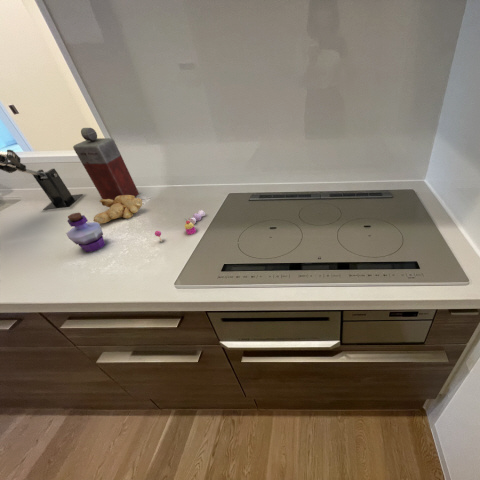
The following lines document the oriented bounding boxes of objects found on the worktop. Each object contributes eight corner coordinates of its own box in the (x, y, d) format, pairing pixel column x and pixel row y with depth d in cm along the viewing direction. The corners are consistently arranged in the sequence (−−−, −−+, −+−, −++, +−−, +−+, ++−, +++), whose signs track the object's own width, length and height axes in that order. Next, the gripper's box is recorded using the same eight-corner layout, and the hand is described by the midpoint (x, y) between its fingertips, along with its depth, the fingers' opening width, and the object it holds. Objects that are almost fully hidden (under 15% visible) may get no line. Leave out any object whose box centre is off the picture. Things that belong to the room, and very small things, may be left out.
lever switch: (71, 209, 103) (48, 175, 94) (44, 212, 101) (19, 178, 93) (84, 196, 111) (65, 164, 103) (60, 199, 110) (38, 167, 102)
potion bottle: (82, 243, 85) (60, 211, 78) (113, 236, 88) (94, 205, 80) (75, 259, 78) (50, 226, 71) (109, 251, 81) (88, 218, 74)
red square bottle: (113, 194, 112) (75, 125, 95) (139, 194, 112) (106, 124, 95) (99, 205, 105) (56, 131, 88) (127, 204, 105) (89, 131, 88)
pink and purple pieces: (194, 215, 98) (189, 200, 94) (213, 218, 96) (208, 203, 92) (157, 243, 84) (150, 228, 80) (178, 248, 82) (171, 232, 79)
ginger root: (147, 196, 107) (138, 180, 101) (150, 223, 98) (140, 207, 92) (103, 206, 103) (90, 190, 96) (101, 235, 94) (87, 219, 87)
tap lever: (12, 170, 84) (9, 160, 84) (0, 171, 84) (-2, 161, 83) (55, 180, 101) (53, 171, 101) (45, 181, 100) (44, 172, 100)
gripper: (-15, 127, 73) (42, 157, 90) (-77, 131, 70) (-7, 161, 87) (-15, 153, 72) (42, 177, 89) (-78, 158, 69) (-7, 182, 86)
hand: (17, 169), depth 88 cm, fingers closed on tap lever, 3 cm apart
